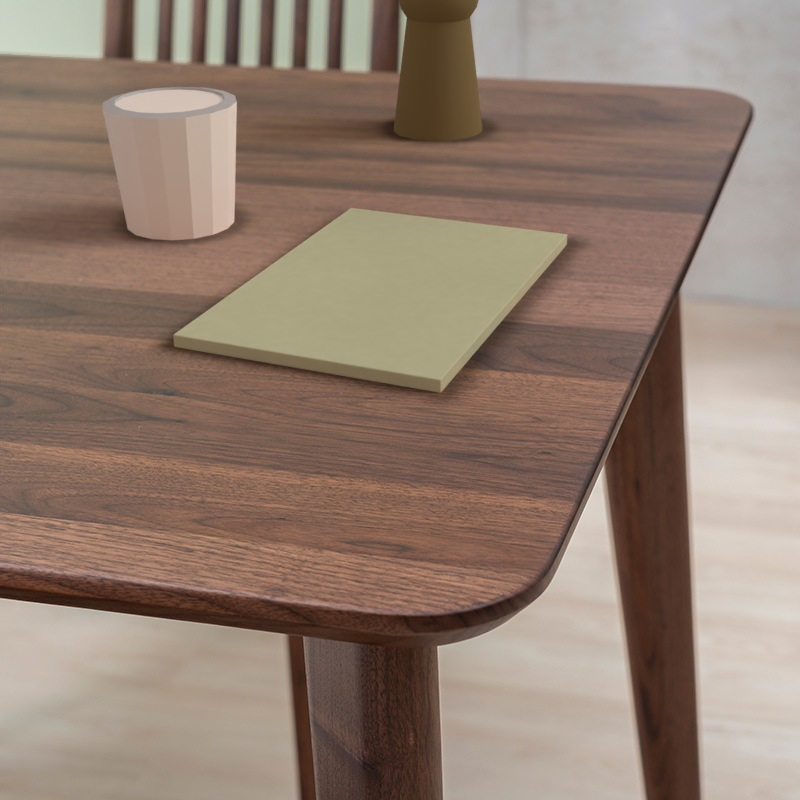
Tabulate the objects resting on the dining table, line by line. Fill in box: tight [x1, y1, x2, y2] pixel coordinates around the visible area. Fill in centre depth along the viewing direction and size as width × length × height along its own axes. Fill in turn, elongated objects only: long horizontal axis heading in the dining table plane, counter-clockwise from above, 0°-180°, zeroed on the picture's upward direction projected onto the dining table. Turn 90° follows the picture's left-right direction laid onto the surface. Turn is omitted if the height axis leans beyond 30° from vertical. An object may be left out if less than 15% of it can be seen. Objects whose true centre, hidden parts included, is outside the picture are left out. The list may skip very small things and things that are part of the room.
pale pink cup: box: [101, 86, 238, 241], centre depth 66 cm, size 7×7×7 cm
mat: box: [172, 207, 568, 394], centre depth 58 cm, size 18×12×1 cm, turn 158°
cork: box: [393, 0, 483, 142], centre depth 81 cm, size 6×6×11 cm
